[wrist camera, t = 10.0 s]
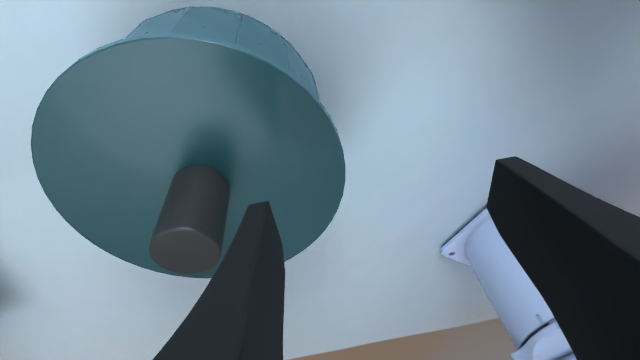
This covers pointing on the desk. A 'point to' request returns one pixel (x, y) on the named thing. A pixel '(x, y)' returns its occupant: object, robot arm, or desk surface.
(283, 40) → the pot
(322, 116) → the lid
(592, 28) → the desk surface
